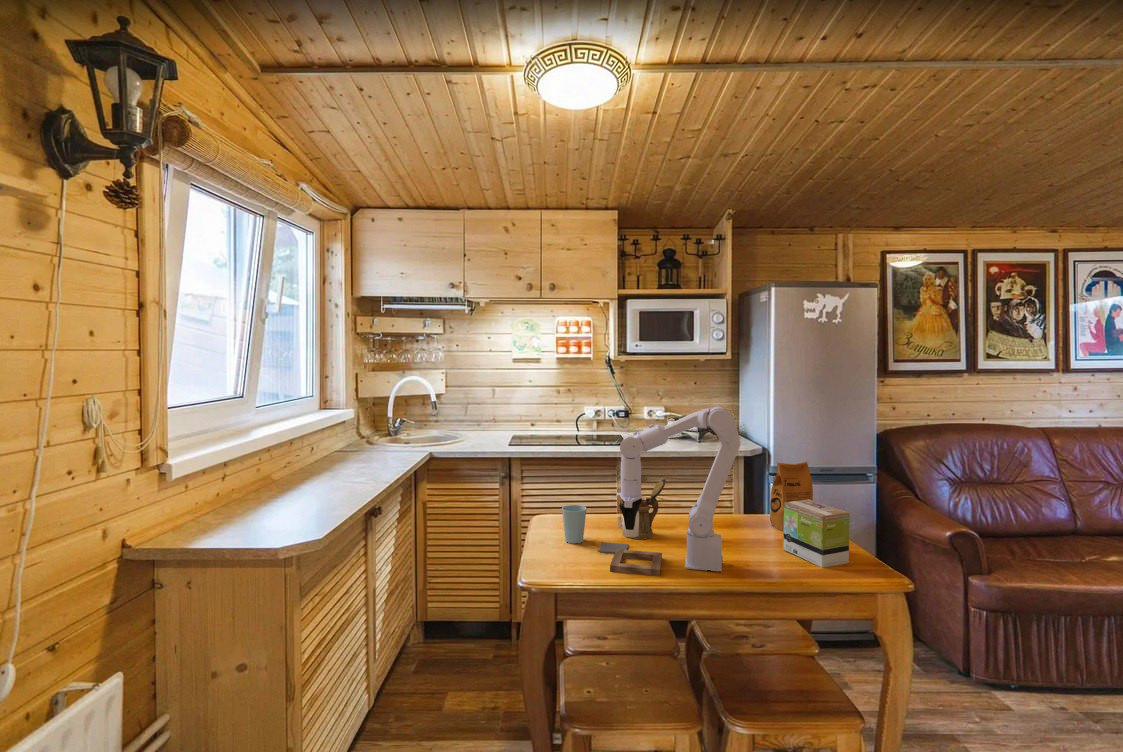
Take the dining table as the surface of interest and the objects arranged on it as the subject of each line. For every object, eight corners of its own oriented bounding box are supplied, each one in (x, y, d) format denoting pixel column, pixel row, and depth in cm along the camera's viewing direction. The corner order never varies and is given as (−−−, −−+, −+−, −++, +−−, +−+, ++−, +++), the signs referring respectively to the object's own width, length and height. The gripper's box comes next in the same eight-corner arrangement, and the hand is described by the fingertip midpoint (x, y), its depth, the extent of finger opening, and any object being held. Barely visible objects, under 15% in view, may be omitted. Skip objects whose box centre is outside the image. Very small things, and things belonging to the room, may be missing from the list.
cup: (576, 546, 166) (576, 512, 166) (556, 541, 171) (556, 508, 171) (591, 540, 172) (591, 507, 172) (571, 535, 177) (571, 503, 177)
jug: (639, 532, 157) (639, 510, 157) (637, 537, 152) (637, 514, 152) (619, 531, 158) (619, 508, 158) (617, 536, 154) (617, 513, 154)
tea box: (781, 550, 163) (782, 501, 162) (808, 546, 166) (808, 498, 166) (822, 569, 149) (823, 514, 148) (850, 564, 152) (851, 510, 152)
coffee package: (766, 523, 190) (766, 460, 189) (801, 522, 191) (801, 459, 190) (779, 532, 180) (780, 465, 179) (816, 531, 181) (817, 464, 180)
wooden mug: (669, 538, 174) (669, 482, 173) (627, 540, 173) (627, 483, 172) (661, 530, 183) (662, 476, 182) (621, 531, 182) (621, 477, 181)
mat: (628, 545, 167) (628, 544, 167) (625, 554, 160) (625, 553, 160) (602, 543, 169) (602, 542, 169) (598, 552, 162) (598, 550, 162)
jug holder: (662, 558, 157) (662, 552, 157) (659, 575, 144) (659, 569, 144) (616, 554, 160) (616, 549, 160) (609, 571, 147) (609, 565, 147)
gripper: (619, 472, 163) (619, 518, 163) (613, 483, 149) (613, 533, 149) (643, 473, 161) (643, 519, 162) (639, 485, 147) (639, 535, 148)
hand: (630, 526), depth 155 cm, fingers closed on jug, 5 cm apart
